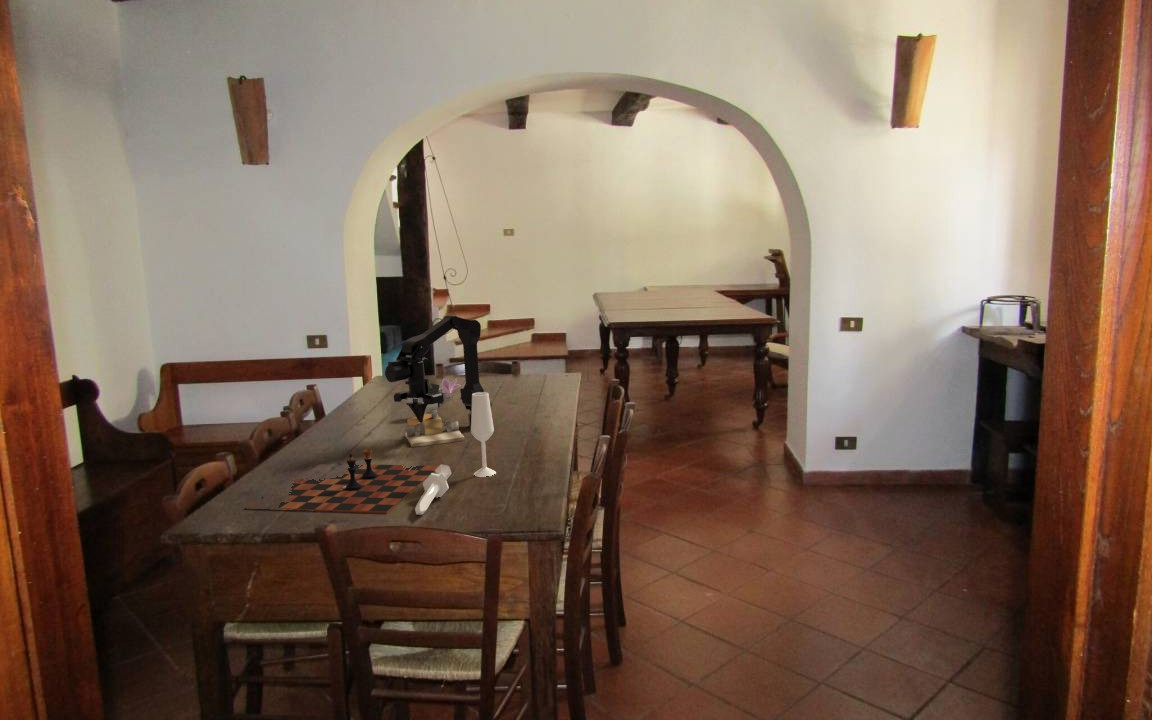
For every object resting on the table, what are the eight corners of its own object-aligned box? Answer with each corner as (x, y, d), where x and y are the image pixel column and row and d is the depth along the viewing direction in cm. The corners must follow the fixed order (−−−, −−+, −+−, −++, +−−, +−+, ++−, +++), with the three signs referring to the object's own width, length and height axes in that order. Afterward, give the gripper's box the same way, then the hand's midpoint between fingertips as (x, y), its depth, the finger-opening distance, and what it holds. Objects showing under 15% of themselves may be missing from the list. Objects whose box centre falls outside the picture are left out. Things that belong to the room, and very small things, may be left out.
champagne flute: (486, 478, 221) (482, 397, 217) (468, 475, 224) (463, 395, 220) (500, 471, 226) (496, 392, 222) (483, 468, 230) (478, 390, 226)
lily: (466, 398, 334) (457, 379, 336) (465, 393, 323) (457, 373, 324) (440, 409, 332) (432, 389, 333) (439, 404, 320) (430, 384, 322)
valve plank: (455, 429, 277) (454, 411, 276) (464, 440, 262) (463, 421, 261) (405, 435, 271) (404, 417, 270) (411, 447, 256) (410, 427, 255)
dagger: (433, 516, 189) (464, 465, 215) (415, 500, 188) (448, 450, 214) (415, 534, 192) (447, 482, 218) (396, 519, 191) (431, 468, 217)
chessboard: (386, 515, 195) (383, 473, 194) (245, 510, 203) (240, 470, 201) (441, 468, 234) (438, 434, 233) (320, 466, 241) (317, 432, 240)
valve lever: (438, 416, 269) (437, 411, 269) (414, 425, 257) (414, 420, 257) (430, 415, 270) (430, 410, 270) (407, 424, 258) (406, 419, 258)
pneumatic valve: (443, 419, 293) (441, 388, 291) (414, 419, 295) (412, 389, 293) (448, 415, 299) (446, 385, 297) (419, 416, 300) (417, 386, 298)
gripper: (453, 373, 258) (457, 418, 260) (414, 371, 269) (419, 415, 271) (429, 379, 249) (433, 426, 251) (390, 377, 260) (395, 422, 262)
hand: (421, 422), depth 259 cm, fingers closed
